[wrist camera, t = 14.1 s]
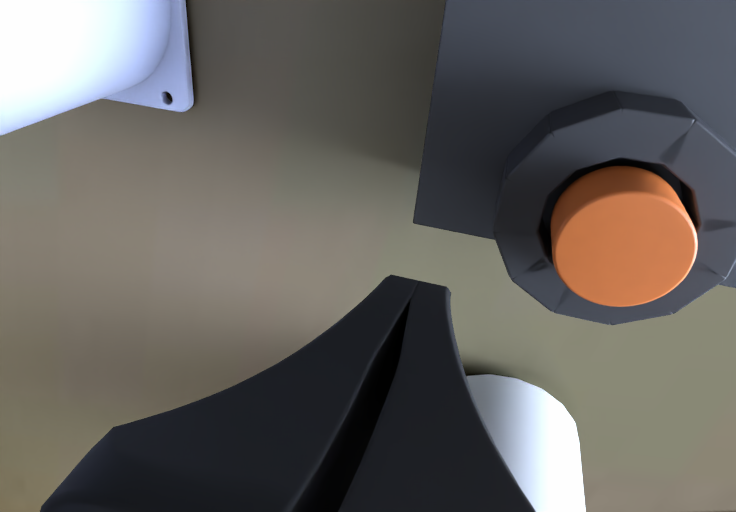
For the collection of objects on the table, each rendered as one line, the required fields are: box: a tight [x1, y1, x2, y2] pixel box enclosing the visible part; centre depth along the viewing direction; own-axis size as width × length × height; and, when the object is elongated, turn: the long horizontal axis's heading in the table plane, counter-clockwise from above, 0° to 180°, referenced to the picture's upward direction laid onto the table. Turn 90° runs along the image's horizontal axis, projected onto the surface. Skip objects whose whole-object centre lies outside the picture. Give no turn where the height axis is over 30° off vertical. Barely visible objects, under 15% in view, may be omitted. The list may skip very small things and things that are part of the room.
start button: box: [550, 166, 698, 307], centre depth 14 cm, size 3×3×2 cm
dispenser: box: [413, 0, 736, 325], centre depth 16 cm, size 11×9×6 cm
